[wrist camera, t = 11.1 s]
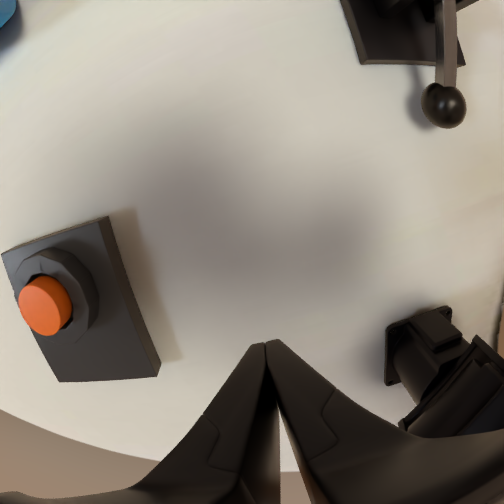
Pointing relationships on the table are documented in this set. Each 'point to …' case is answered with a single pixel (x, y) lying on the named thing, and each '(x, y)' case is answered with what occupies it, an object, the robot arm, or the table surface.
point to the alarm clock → (6, 10)
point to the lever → (444, 71)
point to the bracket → (396, 30)
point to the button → (45, 305)
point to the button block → (87, 305)
